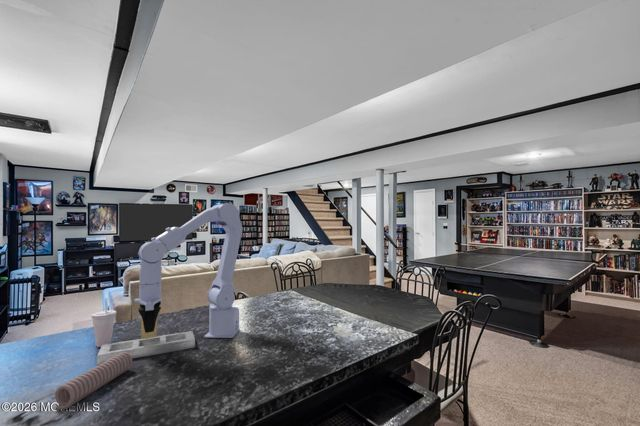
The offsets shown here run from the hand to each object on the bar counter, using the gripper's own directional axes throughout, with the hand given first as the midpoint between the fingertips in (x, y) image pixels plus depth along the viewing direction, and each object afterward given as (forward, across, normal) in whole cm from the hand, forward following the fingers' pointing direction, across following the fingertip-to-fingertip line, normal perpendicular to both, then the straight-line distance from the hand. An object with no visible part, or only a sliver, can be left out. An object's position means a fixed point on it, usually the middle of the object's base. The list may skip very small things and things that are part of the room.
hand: (149, 329), depth 90 cm
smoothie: (+6, -12, -13) cm, 19 cm away
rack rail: (+6, 0, 0) cm, 6 cm away
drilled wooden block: (+2, 0, 0) cm, 2 cm away
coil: (+7, +17, -10) cm, 21 cm away
